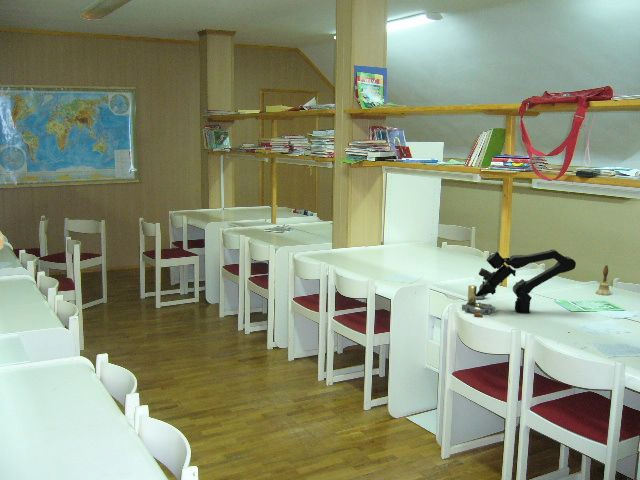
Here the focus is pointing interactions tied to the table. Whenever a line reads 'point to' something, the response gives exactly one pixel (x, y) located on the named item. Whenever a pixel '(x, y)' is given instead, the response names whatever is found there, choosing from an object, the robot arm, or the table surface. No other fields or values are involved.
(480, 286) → the pocket watch
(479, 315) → the pointer
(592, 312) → the table surface
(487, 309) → the sprocket
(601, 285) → the hand bell
